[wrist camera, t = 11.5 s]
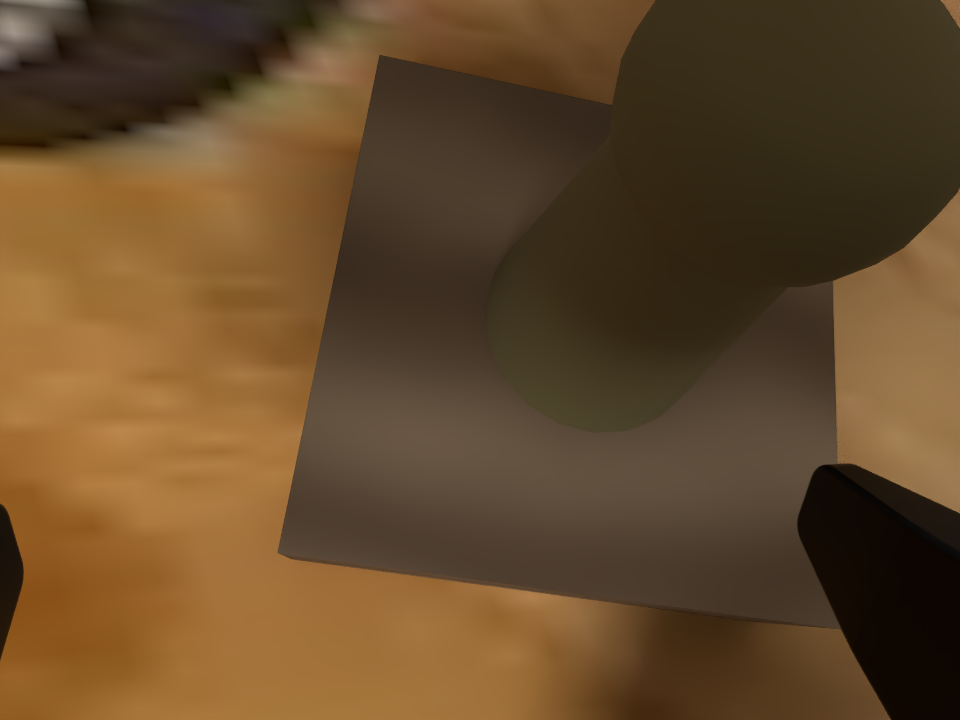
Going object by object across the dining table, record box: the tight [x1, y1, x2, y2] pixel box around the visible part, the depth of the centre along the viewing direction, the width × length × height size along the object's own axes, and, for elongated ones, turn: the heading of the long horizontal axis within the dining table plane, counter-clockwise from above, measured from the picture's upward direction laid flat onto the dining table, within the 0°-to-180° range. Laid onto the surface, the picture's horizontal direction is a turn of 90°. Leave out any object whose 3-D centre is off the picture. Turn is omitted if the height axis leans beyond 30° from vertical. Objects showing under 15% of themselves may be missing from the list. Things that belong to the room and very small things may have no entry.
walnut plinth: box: [278, 55, 841, 629], centre depth 22 cm, size 14×14×4 cm
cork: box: [485, 0, 960, 433], centre depth 15 cm, size 6×6×11 cm
